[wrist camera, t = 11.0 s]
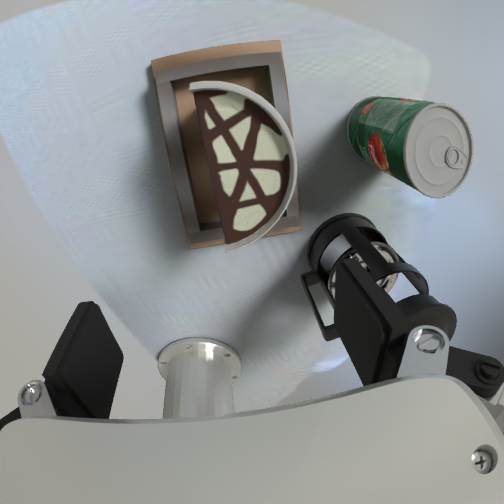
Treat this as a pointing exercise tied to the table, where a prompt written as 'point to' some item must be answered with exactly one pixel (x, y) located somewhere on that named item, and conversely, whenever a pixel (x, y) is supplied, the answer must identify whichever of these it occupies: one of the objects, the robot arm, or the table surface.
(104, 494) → the robot arm
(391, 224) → the table surface
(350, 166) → the table surface
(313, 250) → the french press
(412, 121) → the canned tomato
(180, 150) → the wooden tray
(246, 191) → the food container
